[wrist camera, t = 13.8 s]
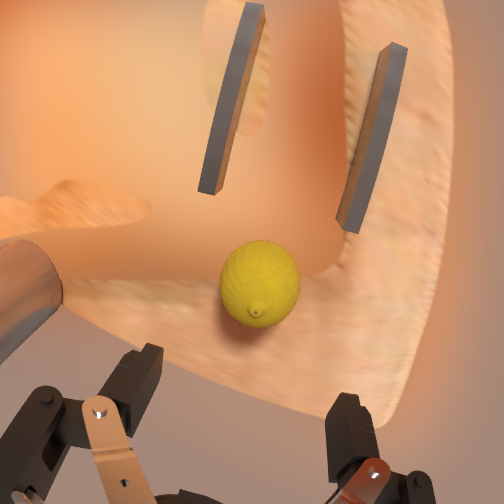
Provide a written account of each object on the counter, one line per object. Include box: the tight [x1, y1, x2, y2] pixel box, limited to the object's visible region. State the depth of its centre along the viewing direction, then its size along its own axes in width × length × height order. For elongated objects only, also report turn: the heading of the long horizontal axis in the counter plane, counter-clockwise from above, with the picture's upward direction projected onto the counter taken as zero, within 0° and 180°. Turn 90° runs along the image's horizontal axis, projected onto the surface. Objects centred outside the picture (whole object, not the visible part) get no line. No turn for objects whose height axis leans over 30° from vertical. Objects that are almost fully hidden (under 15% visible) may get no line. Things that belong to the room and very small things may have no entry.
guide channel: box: [198, 2, 408, 234], centre depth 20 cm, size 11×14×3 cm
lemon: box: [220, 240, 300, 328], centre depth 22 cm, size 6×6×8 cm
